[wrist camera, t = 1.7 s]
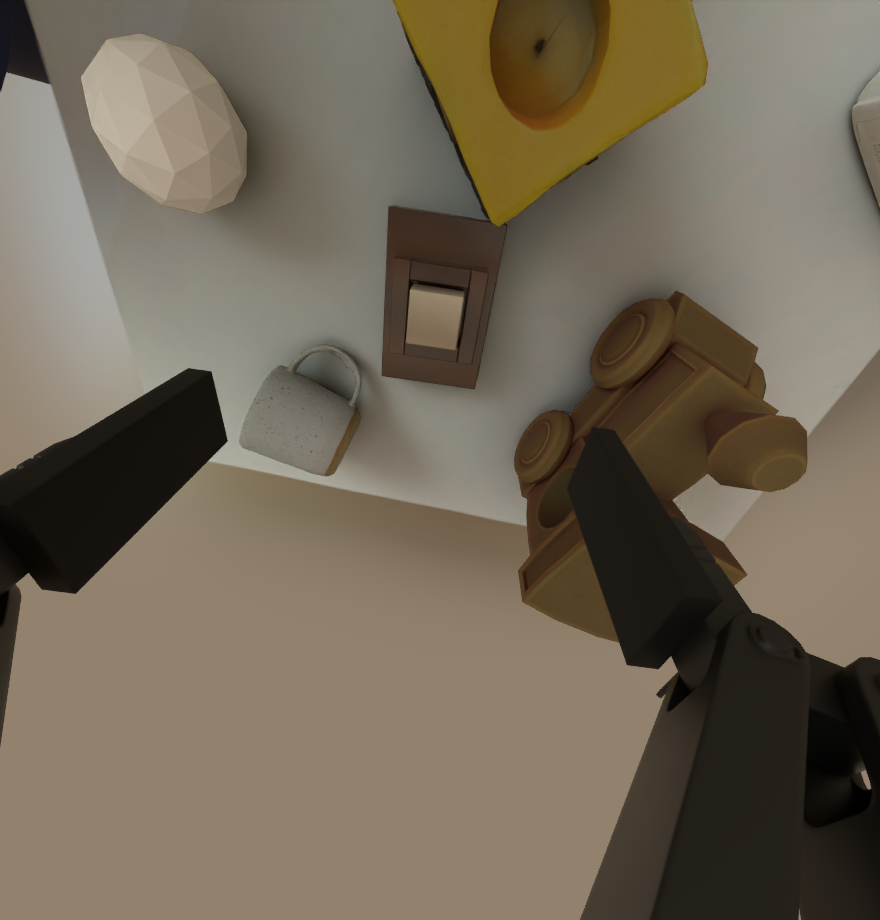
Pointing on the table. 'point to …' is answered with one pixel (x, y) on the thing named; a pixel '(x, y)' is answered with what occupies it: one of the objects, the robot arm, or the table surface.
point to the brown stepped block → (445, 266)
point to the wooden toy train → (651, 442)
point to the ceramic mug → (302, 418)
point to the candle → (548, 82)
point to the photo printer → (869, 130)
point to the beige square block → (434, 316)
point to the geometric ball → (166, 123)
